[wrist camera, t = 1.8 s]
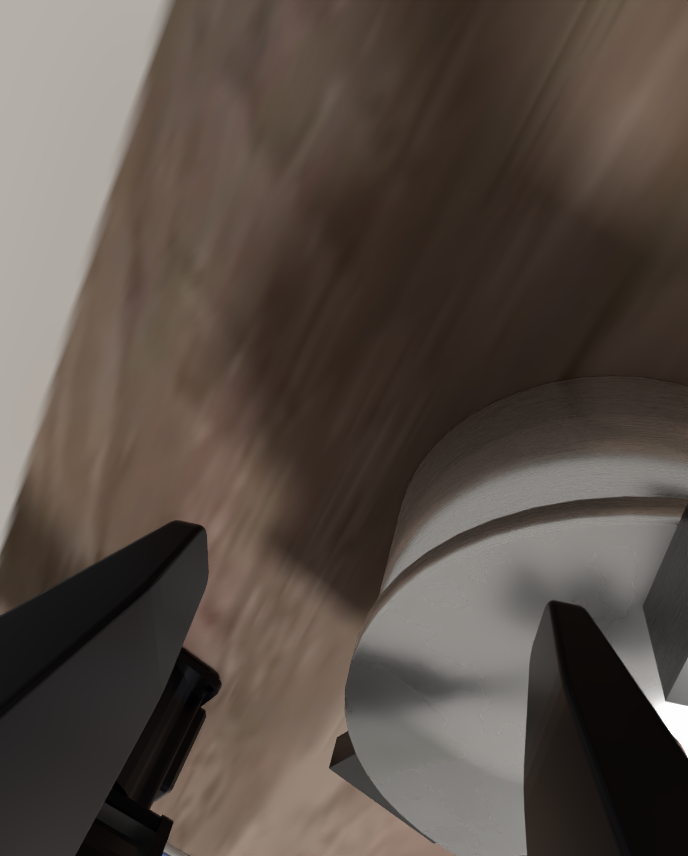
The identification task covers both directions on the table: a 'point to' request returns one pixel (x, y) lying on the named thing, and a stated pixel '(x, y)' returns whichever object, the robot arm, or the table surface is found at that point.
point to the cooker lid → (508, 654)
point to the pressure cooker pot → (536, 473)
